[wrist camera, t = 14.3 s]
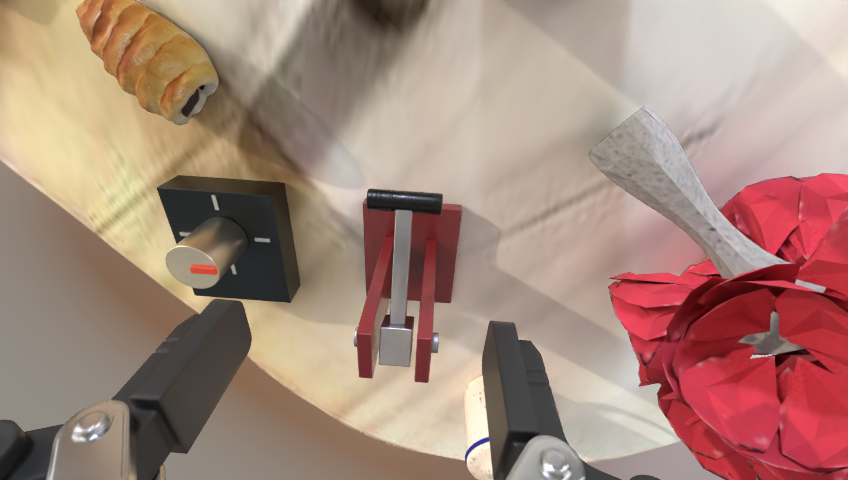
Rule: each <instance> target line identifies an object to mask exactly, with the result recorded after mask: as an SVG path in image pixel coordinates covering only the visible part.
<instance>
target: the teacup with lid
mask: <svg viewBox="0 0 848 480" xmlns="http://www.w3.org/2000/svg"><path fill="white" fill-rule="evenodd" d="M464 401H465V421H466V441H467V452H466V455H465V461H466V464H467V467H468V469H469V471H470V472H471V474H472V475H473V476H474V477H476V478H477V479H478V480H493V471H492V461H491V452H490V442H489V432H488V423H487V413H486V403H485V394H484V384H483V375H481V376H479V377H477V378H475V379H474V380H472V381H471V382H470V383H469V384H468V386H467V387H466V389H465V393H464ZM555 405H556V403H555ZM556 408H557V405H556ZM557 412H558V408H557ZM558 415H559V413H558Z"/></svg>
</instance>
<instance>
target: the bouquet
mask: <svg viewBox="0 0 848 480" xmlns="http://www.w3.org/2000/svg"><path fill="white" fill-rule="evenodd" d="M587 155H588V157H589V158H590V159H591V161H592V162H593V163H594V164H595V165H596V166H597V167H598V168H599V169H600V170H601V171H602V172H603V173H604V174H605V175H606V176H607V177H608V178H609V179H610V180H612V181H613V182H614V183H616V184H617V185H618V186H620V187H621V188H622V189H624V190H625V191H626V192H628V193H629V194H631V195H632V196H634V197H635V198H637V199H638V200H640V201H642V202H643V203H645V204H646V205H648V206H649V207H651V208H653V209H654V210H656V211H657V212H659V213H660V214H662V215H663V216H665V217H666V218H668V219H669V220H671V221H672V222H674V223H675V224H676V225H677V226H679V227H680V228H681V229H683V230H684V231H685V232H686V233H687V234H688V235H689V236H690V237H691V238H692V239H693V240H694V241H695V242H696V243H697V244H698V245H699V246H700V247H701V248H702V249H703V251H704V252H705V253H706V254H707V256H708V257H709V258H710V259H709V260H707V261H705V262H702V263H700V264H698V265H696V266H693V265H691V266H689V267H688V268H687V269H686V270H685V271H684V272H683V273H682V274H681V276H680V277H678V276H675V275H672V274H669V273H659V274H639V275H636V274H633V273H631V272H628V273H625V274H621V275H618V276H615V277H611V278H609V279H618V280H621V281H620V282H614V283H612V284H611V285H610V286H608V288H609V289H610V295H611V301H612V304H613V308H614V311H615V314H616V316H617V317H618V319H619V320H620V322H621V323H622V325H623V326H624V328H625V329H626V330H627V331H628V335H629V338H630V341H631V344H632V347H633V350H634V352H635V353H636V356H637V359H638V361H639V364H640V367H639V372H638V374H639V377H640V381H641V383H640V385H639V386H645V385H650V384H655V383H660V384H661V385H662V386H661V387H660V389H659V391H658V393H657V395H658V405H659V407H660V409H661V410H662V412H663V413H664V415H665V417H666V418H667V419H668V421H669V423H670V425H671V426H672V428H673V429H674V431H675V433H676V435H677V436H678V437H679V438H680V439H681V440H682V441H683V442H684V444H685V445H686V446H687V447H688V448H689V450H690V451H691V452H692V453H693V455H694V456H695V458H696V459H697V460H698V462H699V463H700V464H701V466H702V467H703V468H704V469H705V470H707V471H709V472H711V473H713V474H715V475H717V476H719V477H721V478H723V479H725V480H733V479H734V480H848V175H846V174H828V173H822V174H820V175H818V176H814V177H804V178H795V177H792V176H789V177H782V178H774V179H767V180H764V181H761V182H758V183H755V184H752V185H749V186H746V187H745V188H744V189H743V190H742V191H741V192H740V193H738V194H736V195H735V196H734V197H733V198H732V199H731V200H730V201H729V202H727V203H726V204H725V206H724V207H723V208H722V210H721V211H719V210H718V208H717V207H716V205H715V204H714V203H713V201H712V200H711V198H710V197H709V195H708V194H707V192H706V190H705V188H704V186H703V185H702V183H701V181H700V179H699V178H698V176H697V174H696V172H695V170H694V168H693V166H692V164H691V163H690V161H689V159H688V157H687V156H686V154H685V152H684V150H683V149H682V147H681V145H680V144H679V142H678V141H677V139H676V138H675V136H674V135H673V133H672V132H671V130H670V128H669V127H668V125H666V124H665V123H664V122H663V121H662V120H661V119H660V118H659V117H658V116H657V115H656V114H655V113H654V112H653V111H652V110H651V109H650V108H649V107H648V106H647V105H646V106H644V107H643V108H641V109H640V110H639V111H637V112H636V113H635V114H633V115H632V116H631V117H630V118H628V119H627V120H626V121H625V122H623V123H622V124H621V125H620V126H618V127H617V128H616V129H615V130H614V131H613V132H611V133H610V134H609V135H608V136H607V137H606V138H604V139H603V140H602V141H601V142H600V143H599V144H598V145H596V146H595V147H594V148H593V149H592V150H591V151H590V152H589V153H588V154H587ZM672 284H676V285H672ZM768 354H777V355H772V356H768V357H761V358H753V359H750V357H751V356H752V355H768Z"/></svg>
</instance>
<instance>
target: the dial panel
mask: <svg viewBox="0 0 848 480" xmlns="http://www.w3.org/2000/svg"><path fill="white" fill-rule="evenodd" d="M157 190H158V193H159V196H160V199H161V201H162V204H163V207H164V210H165V213H166V215H167V218H168V221H169V224H170V227H171V229H172V232H173V235H174V238H175V241H176V243H177V244H178V243H179V242H180V241H181V240H183V239H184V238H185V237H186V236H188V235H189V234H190V233H191V232H193V231H194V230H195V229H196V228H198V227H199V226H200V225H201V224H203V223H204V222H205V221H206V220H208V219H210V218H213V217H223V218H227V219H229V220H232V221H233V222H235V223H236V224H238V225H239V226H240V227H241V228H242V229H243V231H244V232H245V234H246V236H247V239H248V246H247V249H246V250H245V252H244V253H243V254H242V255H241V256H240V257H239V258H238V259H237V261H236V262H235V263H234V264H233V265H232V266H231V267H230V268H229V269H228V271H227V272H226V273H225V274H224V275H223V276H222V277H221V278H220V279H219V281H218V282H217V283H216V284H215V285H213V286H212V287H209V288H204V289H199V288H193V287H192V288H193V291H194V294H195V295H197V296H210V297H223V298H236V299H249V300H262V301H275V302H288V303H290V302H291V301H292V299H293V297H294V296H295V294H296V292H297V290H298V288H299V287H300V285H301V284H300V278H299V272H298V266H297V259H296V253H295V247H294V241H293V234H292V228H291V222H290V215H289V209H288V203H287V197H286V190H285V184H284V183H280V182H266V181H251V180H237V179H223V178H209V177H194V176H180V175H179V176H177V177H175V178H173V179H171V180H169V181H168V182H166V183H164V184H162V185H160V186H159V187H157Z"/></svg>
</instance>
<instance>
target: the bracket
mask: <svg viewBox="0 0 848 480" xmlns="http://www.w3.org/2000/svg"><path fill="white" fill-rule="evenodd" d="M366 201H367V198H366V199H365V200H364V202H363V220H364V245H365V270H366V296H367V299H366V302H365V306H364V309H363V313H362V316H361V319H360V323H359V326H358V327H357V328H356V330H355V335H354V346H355V347H357V352H358V368H359V377H361V378H373V374H374V369H375V365H376V360H377V355H378V350H379V346H380V328H381V325H382V322H383V319H384V317H385V315H386V313H387V308H388V303H389V299H391V290H392V271H393V253H394V234H395V216H396V212H389V211H375V210H368V209H367V203H366ZM460 219H461V205H452V204H442V212H441V215H431V214H417V213H413V218H412V234H411V250H410V266H409V282H408V298H407V300H414V301H421V303H420V313H419V324H418V334H417V349H416V366H415V382H424V383H428V382H429V371H430V360H431V353H438V344H439V333H433V315H434V302H441V303H451V295H452V287H453V278H454V270H455V261H456V253H457V245H458V236H459V228H460Z"/></svg>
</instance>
